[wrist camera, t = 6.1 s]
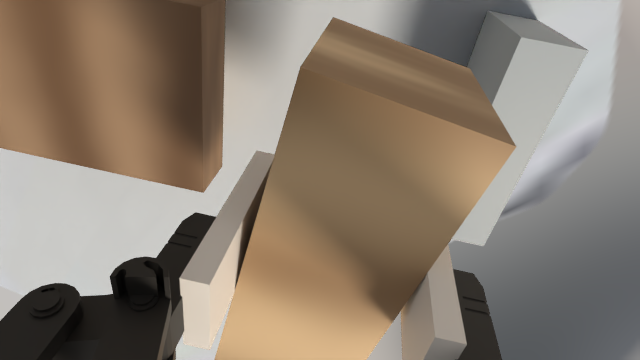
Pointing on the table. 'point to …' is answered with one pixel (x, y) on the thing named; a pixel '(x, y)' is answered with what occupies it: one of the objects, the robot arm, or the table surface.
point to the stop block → (517, 99)
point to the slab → (116, 85)
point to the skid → (360, 196)
